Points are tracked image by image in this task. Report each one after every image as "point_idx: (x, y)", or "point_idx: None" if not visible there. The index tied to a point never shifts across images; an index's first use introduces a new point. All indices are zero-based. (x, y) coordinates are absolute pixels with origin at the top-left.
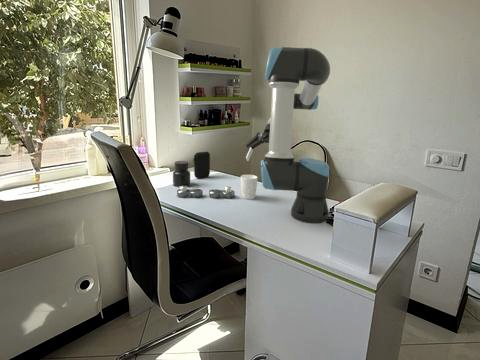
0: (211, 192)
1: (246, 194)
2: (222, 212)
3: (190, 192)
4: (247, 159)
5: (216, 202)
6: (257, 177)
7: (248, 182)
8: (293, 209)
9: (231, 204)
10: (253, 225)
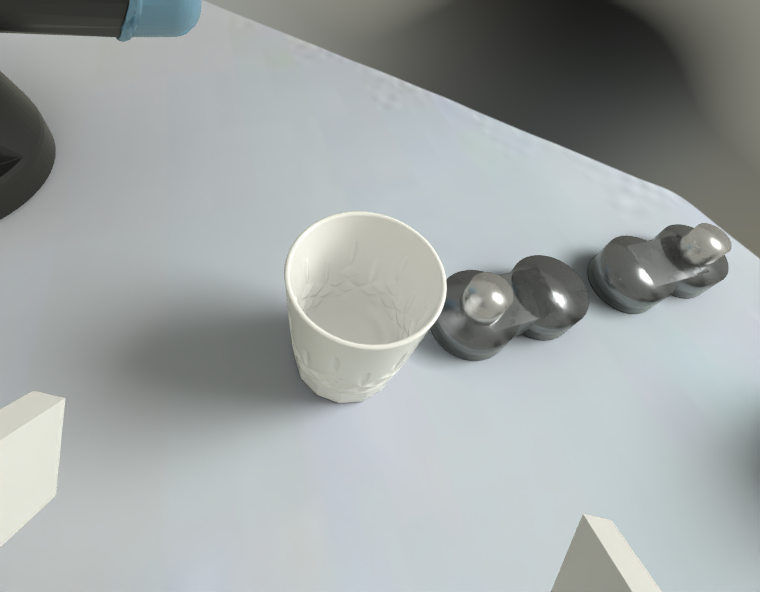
0: (556, 263)
1: (350, 293)
2: (398, 135)
3: (647, 241)
4: (571, 558)
5: (479, 226)
6: (284, 276)
7: (348, 232)
8: (29, 104)
9: (398, 218)
10: (243, 60)
